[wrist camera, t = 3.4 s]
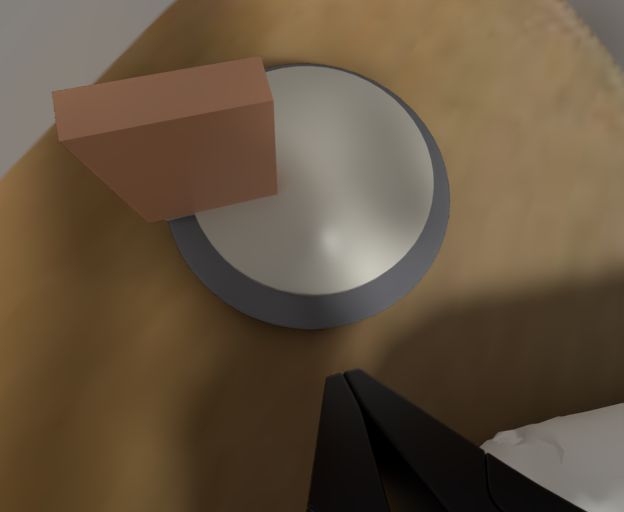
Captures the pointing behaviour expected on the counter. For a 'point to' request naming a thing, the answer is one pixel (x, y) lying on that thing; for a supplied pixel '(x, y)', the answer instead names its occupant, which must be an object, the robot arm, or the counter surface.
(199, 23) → the counter surface
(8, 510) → the counter surface
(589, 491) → the white bottle
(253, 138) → the dial
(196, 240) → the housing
